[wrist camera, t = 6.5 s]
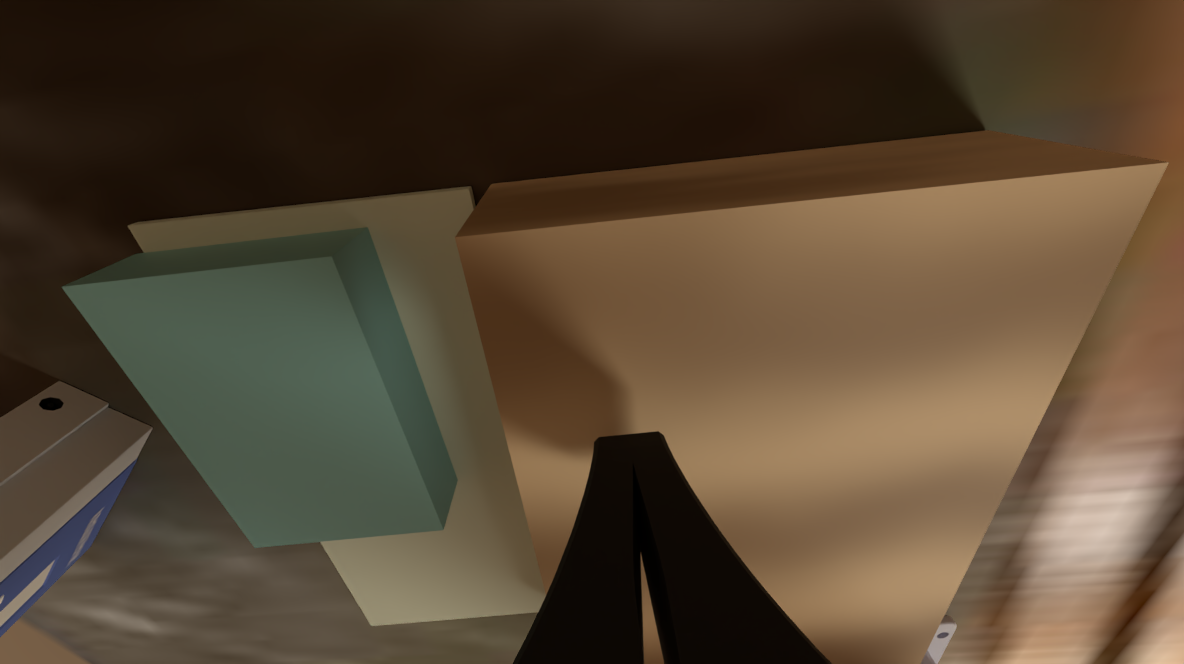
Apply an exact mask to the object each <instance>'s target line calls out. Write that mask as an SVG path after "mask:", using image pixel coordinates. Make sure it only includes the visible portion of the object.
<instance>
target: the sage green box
mask: <svg viewBox="0 0 1184 664" xmlns="http://www.w3.org/2000/svg"><path fill="white" fill-rule="evenodd" d="M62 288H63V290H64V291H65V292H66V294H67V295H68V296H69V298H70V299H71V301H72V302H73V303H74V305H75V306H76V307H77V309H78V310H79V311H80V313H81V314H82V315H83V317H84V318H85V319H86V321H87V322H88V323H89V325H90V326H91V328H92V329H93V330H94V332H95V333H96V334H97V336H98V337H99V338H100V340H101V341H102V342H103V344H104V345H105V346H106V348H107V349H108V351H109V352H110V353H111V355H112V356H113V357H114V359H115V360H116V361H117V363H118V364H119V365H120V367H121V368H122V369H123V371H124V372H125V373H126V375H127V376H128V378H129V379H130V380H131V382H132V383H133V384H134V386H135V387H136V388H137V390H138V391H139V392H140V394H141V395H142V396H143V398H144V399H145V400H146V402H147V403H148V405H149V406H150V407H151V409H152V410H153V411H154V413H155V414H156V415H157V417H158V418H159V419H160V421H161V422H162V423H163V425H164V426H165V427H166V429H167V430H168V432H169V433H170V434H171V436H172V437H173V438H174V440H175V441H176V442H177V444H178V445H179V446H180V448H181V449H182V450H183V452H184V453H185V454H186V456H187V457H188V459H189V460H190V461H191V463H192V464H193V465H194V467H195V468H196V469H197V471H198V472H199V473H200V475H201V476H202V477H203V479H204V480H205V481H206V483H207V484H208V486H209V487H210V488H211V490H212V491H213V492H214V494H215V495H216V496H217V498H218V499H219V500H220V502H221V503H222V504H223V506H224V507H225V509H226V510H227V511H228V513H229V514H230V515H231V517H232V518H233V519H234V521H235V522H236V523H237V525H238V526H239V527H240V529H241V530H242V531H243V533H244V534H245V536H246V537H247V538H248V540H249V541H250V542H251V544H252V545H253V546H254V548H259V547H269V546H280V545H291V544H302V543H312V542H323V541H334V540H344V539H355V538H366V537H376V536H387V535H398V534H408V533H419V532H430V531H440V530H444V527H445V524H446V520H447V517H448V513H449V509H450V506H451V502H452V499H453V495H454V492H455V488H456V485H457V481H458V479H457V476H456V473H455V471H454V468H453V465H452V462H451V459H450V457H449V454H448V451H447V448H446V445H445V443H444V440H443V437H442V434H441V431H440V429H439V426H438V423H437V420H436V417H435V414H434V412H433V409H432V406H431V403H430V400H429V398H428V395H427V392H426V389H425V386H424V384H423V381H422V378H421V375H420V372H419V370H418V367H417V364H416V361H415V358H414V356H413V353H412V350H411V347H410V344H409V341H408V339H407V336H406V333H405V330H404V327H403V325H402V322H401V319H400V316H399V313H398V311H397V308H396V305H395V302H394V299H393V297H392V294H391V291H390V288H389V285H388V283H387V280H386V277H385V274H384V271H383V268H382V266H381V263H380V260H379V257H378V254H377V252H376V249H375V246H374V243H373V240H372V238H371V235H370V232H369V229H368V227H364V228H356V229H347V230H338V231H330V232H321V233H312V234H304V235H295V236H286V237H277V238H269V239H260V240H251V241H243V242H234V243H225V244H216V245H208V246H199V247H190V248H182V249H173V250H164V251H156V252H147V253H138V254H134V255H132V256H130V257H128V258H125V259H123V260H121V261H119V262H116V263H114V264H112V265H110V266H107V267H105V268H103V269H100V270H98V271H96V272H94V273H91V274H89V275H87V276H85V277H82V278H80V279H78V280H76V281H73V282H71V283H69V284H67V285H64V286H62Z"/></svg>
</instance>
